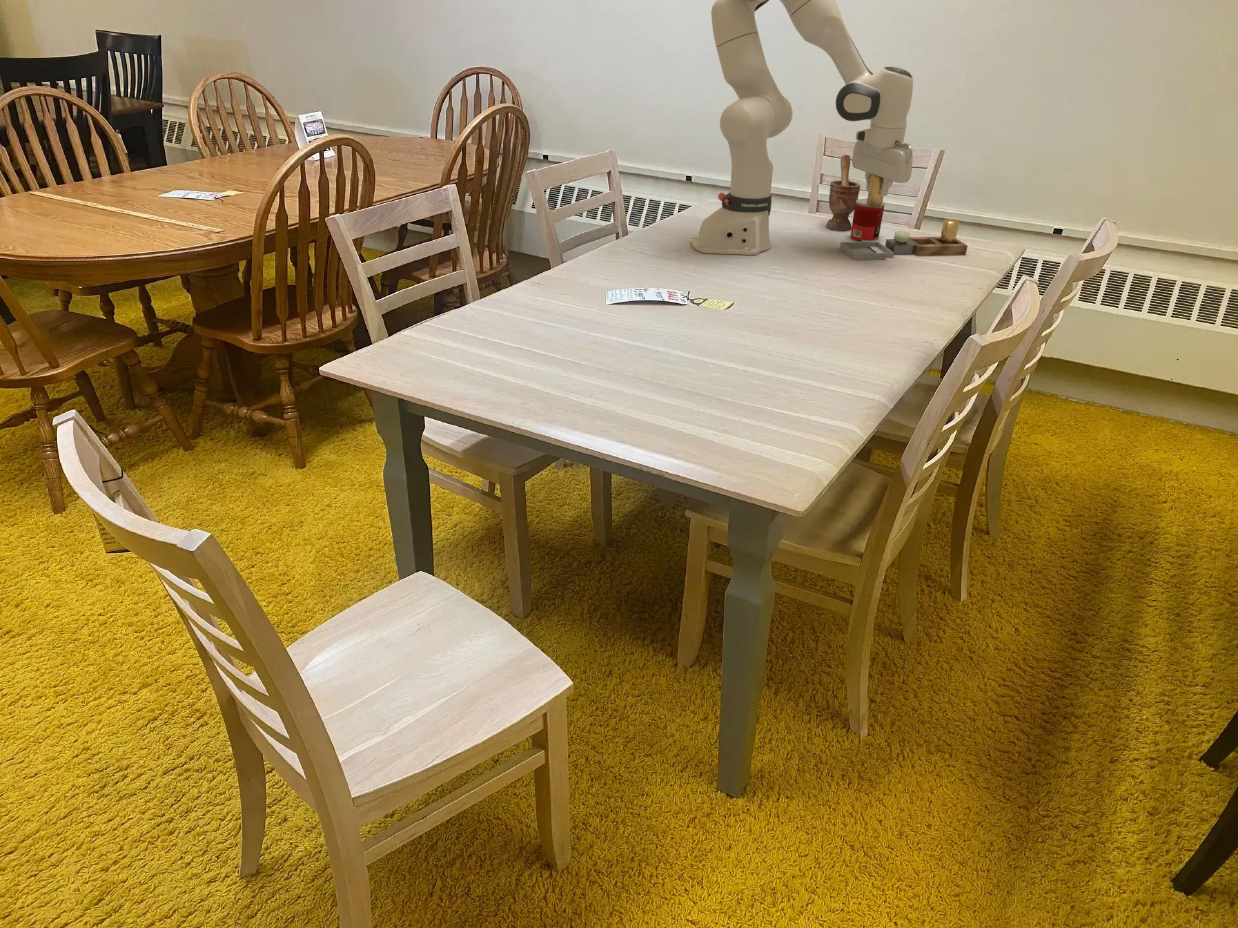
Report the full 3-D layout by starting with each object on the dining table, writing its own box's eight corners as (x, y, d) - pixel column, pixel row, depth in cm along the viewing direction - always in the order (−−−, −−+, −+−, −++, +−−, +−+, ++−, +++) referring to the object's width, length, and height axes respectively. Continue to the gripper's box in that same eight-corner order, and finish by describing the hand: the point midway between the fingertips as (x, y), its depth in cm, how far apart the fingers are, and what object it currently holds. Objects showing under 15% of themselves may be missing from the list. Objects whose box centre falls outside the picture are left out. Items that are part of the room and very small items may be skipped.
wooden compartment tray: (915, 259, 226) (918, 246, 224) (902, 249, 234) (904, 237, 232) (964, 258, 227) (967, 245, 226) (949, 248, 235) (952, 236, 233)
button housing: (892, 258, 227) (894, 245, 225) (884, 251, 232) (886, 239, 230) (913, 257, 227) (916, 245, 226) (904, 251, 232) (907, 239, 231)
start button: (895, 253, 227) (898, 235, 225) (889, 248, 230) (892, 231, 228) (909, 252, 227) (912, 235, 225) (903, 248, 231) (906, 231, 228)
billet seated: (941, 252, 228) (947, 223, 224) (935, 248, 232) (941, 219, 228) (955, 252, 229) (962, 223, 225) (948, 248, 232) (955, 219, 228)
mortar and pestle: (815, 222, 258) (824, 154, 247) (840, 220, 260) (850, 153, 249) (832, 232, 248) (842, 162, 238) (858, 230, 250) (869, 161, 240)
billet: (864, 206, 221) (870, 175, 217) (868, 203, 224) (873, 173, 220) (879, 209, 219) (885, 177, 215) (883, 205, 222) (888, 175, 218)
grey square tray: (853, 262, 223) (854, 254, 222) (839, 250, 233) (840, 242, 232) (892, 261, 224) (894, 253, 223) (877, 249, 234) (878, 241, 233)
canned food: (878, 245, 238) (885, 205, 232) (850, 243, 239) (856, 204, 233) (877, 237, 244) (883, 199, 238) (849, 235, 245) (855, 197, 240)
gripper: (923, 144, 206) (911, 201, 213) (871, 130, 222) (862, 183, 229) (902, 146, 204) (891, 203, 211) (852, 131, 220) (843, 185, 227)
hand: (876, 193), depth 220 cm, fingers closed on billet, 4 cm apart
